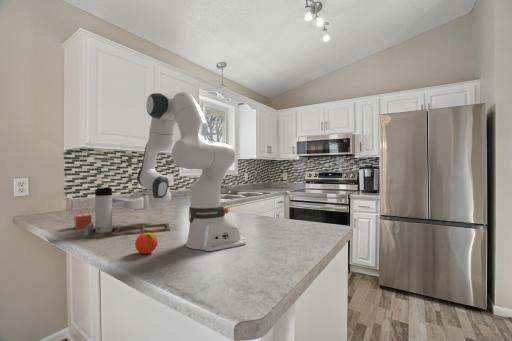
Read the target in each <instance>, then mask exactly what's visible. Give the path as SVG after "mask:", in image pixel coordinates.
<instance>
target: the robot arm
mask: <svg viewBox="0 0 512 341" xmlns="http://www.w3.org/2000/svg"><path fill="white" fill-rule="evenodd" d="M145 103H146V106H145V107H146V112H147V114H148V115H149V117H151V121H150V126H149V134H148V135H149V136H148V138H147V139H148V140H147V142H146V144H145V148H144V152H143V157H142V163H141V167H140V169H139V171H138V174H137V177H136V179H137V180H136V181H137V183H138V184H139V186H141V187H144V188H145V189H146V190H145V191H134V192H133V193H132V194H131V195H130V196H112V208H124V209H129V210H134V211H141V210H142V211H143V210H148V209H157V208H161V207H162V208H163V207H165V206H167V205H169V204H170V202H171V201H172V193H171V192H170V189H169V186H170V182H169V179H168V178H167V177H166V176H165V175H163V174H161V173H159V172H158V171H157V169H156V164H157V163H156V162H157V158H158V155H159V153H160V152H162V151H163V152H164V151H166V150H168V149H170V148H171V147H172V149H171V158H172V162H173V163H174V164H175V166H176V167H179V168H182V169H186V170H190V171H191V170H202V171H201V175H200V177H199V178H198V179H197V180H195V181H194V182H192V184H191V186H190V194H189V195H190V200H189V201H190V206H189V208H188V209H189V210H188V220H189V221H188V222H189V229H188V234H187V240H186V243H185V246H186V247H187V248H189V249H193V250H202V251H207V252H213V251H219V250H224V249H229V248H234V247H238V246H239V247H241V246H243V245H246V244H247V239H246V237H245V236H244V235H241V231H240V228H239V225H238V224H236V223H235V222H234V221H233V220H232V219H231V218H230V217H228V216H226V214H229V213H230V209H229V208H228V207H224V206H222V205H221V191H222V183H223V180H224V177H225V175H226V173H227V171H228V170H229V169H230V168H231V167H232V166H233V164H234V162H235V160H236V152H235V149H234V147H233V146H232V145H231V144H228V143H225V142H222V141H215V140H206V139H205V138H204V137H205V136H206V134H207V133H208V130H209V123H208V121H207V118H206V117H205V115H204V113H203V110H202V108H201V107H200V104H199V103H198V101H197V100H196V99H195V97H194V96H193V95H192V94H191V93H190V92H186V91H180V92H178V93H176V94H174V95H172V94H165V93H164V94H163V93H159V92H157V93H156V92H155V93H151V94H149V96H148V97H147V99H146V102H145ZM176 124H177V126H178V130H179V133H180V138H179V139H178V140H176V142H175V143H174V140H175V131H176V130H175V129H176ZM173 143H174V144H173Z"/></svg>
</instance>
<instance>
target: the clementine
mask: <svg viewBox="0 0 512 341" xmlns="http://www.w3.org/2000/svg"><path fill="white" fill-rule="evenodd" d="M157 246H158V238H157V235H155V234H154V232H151V233H150V232H146V233H140V234H139V235H138V237H137V236H136V240H135V243H134V247H135V249H136V250H137V251H138V252H139V253H140V254H143V255H146V254H150V253H152V252H153V251H155V250H156V248H157Z"/></svg>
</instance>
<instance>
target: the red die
mask: <svg viewBox="0 0 512 341" xmlns="http://www.w3.org/2000/svg"><path fill="white" fill-rule="evenodd" d="M90 223H92V214H90V213H82V214H81V213H80V214H73V228H74V230H75V231H77V230H84V228H85V227H86V226H87V225H88V224H90Z"/></svg>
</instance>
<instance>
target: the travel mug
mask: <svg viewBox="0 0 512 341" xmlns="http://www.w3.org/2000/svg"><path fill="white" fill-rule="evenodd" d="M94 191H95V194H94V196H95V197H94V205H95V206H94V207H95V208H94V212H95V215H94V216H95V217H94V220H95V221H94V223H95V224H94V229H95V230H96V231H95V232H94V233H95V234H105V233H113V230H112V228H113V207H112V197H113V188H112V187H111V188H110V187H103V188H96V189H95V190H94Z"/></svg>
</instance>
